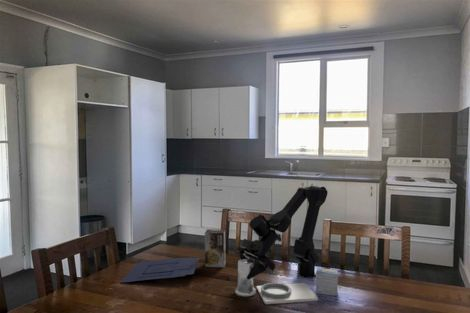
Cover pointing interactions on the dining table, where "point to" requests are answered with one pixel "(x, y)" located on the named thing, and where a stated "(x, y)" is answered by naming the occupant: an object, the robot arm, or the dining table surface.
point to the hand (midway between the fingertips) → (242, 276)
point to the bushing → (245, 279)
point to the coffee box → (214, 248)
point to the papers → (162, 269)
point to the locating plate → (295, 296)
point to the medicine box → (327, 281)
